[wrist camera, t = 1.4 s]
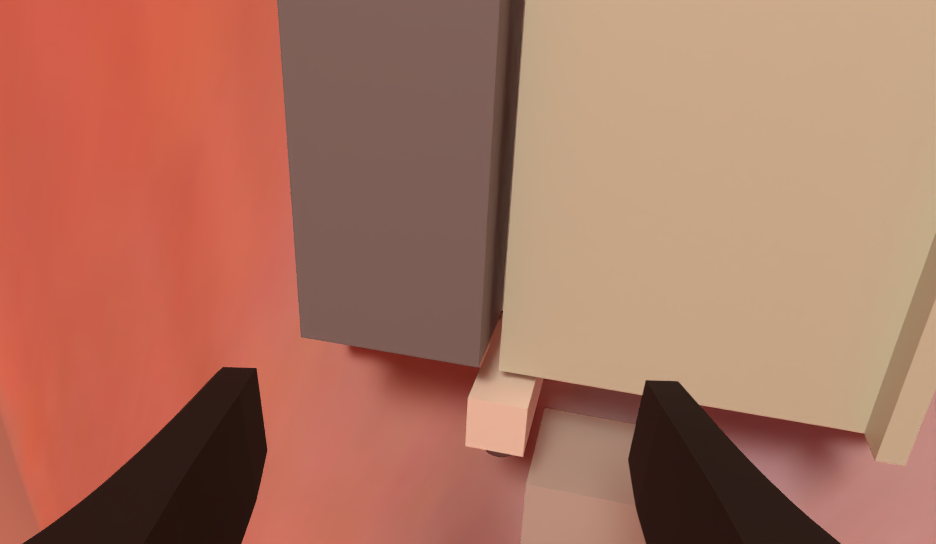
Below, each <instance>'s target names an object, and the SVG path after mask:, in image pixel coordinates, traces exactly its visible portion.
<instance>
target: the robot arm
mask: <svg viewBox="0 0 936 544" xmlns="http://www.w3.org/2000/svg"><path fill="white" fill-rule="evenodd" d="M266 453H267V444H266V437H265V429H264V422H263V414H262V407H261V399H260V392H259V384H258V377H257V369H256V368H232V367H223V368H222V369H220V370H219V371H218V372H217V373H216V374H215V375H214V376H213V377H212V378H211V379H210V380H209V381H208V382H207V383H206V384H205V386H204V387H203V388H202V389H201V390H200V391H199V392H198V393H197V394H196V395H195V396H194V397H193V398H192V399H191V400H190V401H189V402H188V403H187V404H186V405H185V407H184V408H183V409H182V410H181V411H180V412H179V413H178V414H177V415H176V416H175V417H174V418H173V419H172V420H171V421H170V422H169V423H168V424H167V425H166V426H165V427H164V428H163V429H162V430H161V431H160V432H159V433H158V434H157V435H156V436H155V437H154V438H152V439H151V440H150V441H149V442H148V443H147V444H146V445H145V446H144V447H143V448H142V449H141V450H140V451H139V452H138V453H137V454H136V455H135V456H133V457H132V458H131V459H130V460H129V461H128V462H127V463H126V464H124V465H123V466H122V467H121V468H120V469H119V470H118V471H117V472H115V473H114V474H113V475H112V476H111V477H110V478H109V479H108V480H107V481H105V482H104V483H103V484H102V485H101V486H99V487H98V488H97V489H96V490H95V491H93V492H92V493H91V494H90V495H89V496H87V497H86V498H85V499H84V500H82V501H81V502H80V503H79V504H77V505H76V506H75V507H73V508H72V509H71V510H70V511H68V512H67V513H66V514H64V515H63V516H62V517H60V518H59V519H58V520H56V521H55V522H54V523H52V524H51V525H49V526H48V527H47V528H45V529H44V530H42V531H41V532H39V533H38V534H36V535H35V536H33V537H32V538H30V539H29V540H27V541H26V542H24V543H23V544H241V543H242V540H243V537H244V535H245V532H246V529H247V526H248V523H249V520H250V517H251V514H252V512H253V509H254V506H255V503H256V499H257V495H258V491H259V486H260V482H261V477H262V473H263V468H264V463H265V458H266ZM628 463H629V470H630V476H631V483H632V489H633V495H634V500H635V506H636V511H637V514H638V518H639V522H640V525H641V528H642V532H643V535H644V539H645V542H646V544H841V543H839V542H838V541H837V540H836V539H835V538H833V537H832V536H831V535H830V534H828V533H827V532H826V531H825V530H824V529H822V528H821V527H820V526H819V525H818V524H816V523H815V522H814V521H813V520H812V519H810V518H809V517H808V516H807V515H806V514H805V513H804V512H802V511H801V510H800V509H799V508H798V507H797V506H796V505H795V504H793V503H792V502H791V501H790V500H789V499H788V498H787V497H786V496H785V495H784V494H783V493H782V492H781V491H780V490H779V489H778V488H777V487H776V486H775V485H773V484H772V483H771V482H770V481H769V480H768V479H767V478H766V477H765V476H764V475H763V474H762V473H761V472H760V471H759V470H758V469H757V468H756V467H755V466H754V465H753V464H752V463H751V462H750V461H749V459H748V458H747V457H746V456H745V455H744V454H743V453H742V452H741V451H740V450H739V449H738V448H737V447H736V446H735V445H734V444H733V442H732V441H731V440H730V439H729V438H728V437H727V436H726V435H725V434H724V433H723V431H722V430H721V429H720V428H719V427H718V426H717V425H716V424H715V422H714V421H713V420H712V419H711V418H710V417H709V416H708V414H707V413H706V412H705V411H704V410H703V409H702V408H701V406H700V405H699V404H698V403H697V402H696V401H695V400H694V399H693V397H692V396H691V395H690V394H689V393H688V392H687V391H686V389H685V388H684V387H683V386H682V385H681V384H680V383H679V382H678V381H656V380H646V381H645V386H644V390H643V395H642V399H641V403H640V408H639V412H638V417H637V421H636V426H635V430H634V435H633V439H632V444H631V448H630V452H629V457H628Z"/></svg>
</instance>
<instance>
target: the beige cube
mask: <svg viewBox="0 0 936 544" xmlns="http://www.w3.org/2000/svg"><path fill="white" fill-rule="evenodd" d="M635 426H636V424H632V423H627V422H621V421H616V420H610V419H605V418H599V417H594V416H588V415H582V414H577V413H571V412H566V411H560V410H555V409H549V408H545V409H544V413H543V417H542V421H541V425H540V429H539V433H538V437H537V441H536V446H535V450H534V454H533V458H532V462H531V466H530V470H529V474H528V478H527V482H526V490H525V500H524V509H523V519H522V529H521V539H520V544H646V542H645V539H644V535H643V532H642V528H641V525H640V522H639V518H638V514H637V511H636V506H635V500H634V495H633V489H632V483H631V476H630V470H629V463H628V457H629V452H630V448H631V444H632V439H633V435H634V430H635Z"/></svg>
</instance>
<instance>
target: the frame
mask: <svg viewBox="0 0 936 544" xmlns="http://www.w3.org/2000/svg"><path fill="white" fill-rule="evenodd" d="M525 2H526V0H524V1H523V15H522V29H521V43H520V57H519V71H518V85H517V99H516V113H515V127H514V141H513V155H512V169H511V183H510V197H509V211H508V225H507V239H506V253H505V267H504V281H503V295H502V309H501V311H503V305H504V291H505V277H506V264H507V250H508V236H509V222H510V209H511V195H512V181H513V167H514V153H515V140H516V126H517V112H518V98H519V85H520V71H521V57H522V43H523V29H524V16H525ZM502 319H503V314H502V316H501V319H499V320H498V322H497V325H496V327H495V329H494V332H493V334H492V337H491V339H490V341H489V344H488V346H487V349H486V351H485V353H484V356H483V358H482V361H481V363H480V365H479V367H480V370H479V372H478V375H477V377H476V379H475V382H474V384H473V387H472V389H471V392H470V394H469V396H468V405H467V424H466V444H465V446H469V447H474V448H479V449H484V450H486V451H487V452H488V453H489V454H491V455H493V456H497V457H506V456H510V455H515V456H520V457H523V455H524V451H525V448H526V444H527V440H528V436H529V432H530V429H531V425H532V421H533V417H534V414H535V410H536V406H537V402H538V398H539V395H540V391H541V387H542V383H543V379H545V378H540V377H534V376H528V375H522V374H516V373H511V372H505V371H499V360H500V346H501V333H502ZM550 380H551V379H550ZM555 381H557V380H555ZM561 382H563V381H561ZM567 383H569V382H567ZM573 384H575V383H573ZM579 385H580V384H579ZM584 386H586V385H584ZM590 387H592V386H590ZM596 388H598V387H596ZM602 389H604V388H602ZM608 390H610V389H608ZM614 391H615V390H614ZM619 392H621V391H619ZM625 393H627V392H625ZM631 394H633V393H631ZM637 395H639V394H637ZM701 406H703V405H701ZM707 407H709V406H707ZM713 408H714V407H713ZM718 409H720V408H718ZM724 410H726V409H724ZM730 411H732V410H730ZM736 412H738V411H736ZM742 413H744V412H742ZM748 414H749V413H748ZM753 415H755V414H753ZM759 416H761V415H759ZM765 417H767V416H765ZM771 418H773V417H771ZM777 419H778V418H777ZM782 420H784V419H782ZM788 421H790V420H788ZM794 422H796V421H794ZM800 423H802V422H800ZM806 424H808V423H806ZM812 425H813V424H812ZM817 426H819V425H817ZM823 427H825V426H823ZM829 428H831V427H829ZM835 429H837V428H835ZM841 430H843V429H841ZM847 431H848V430H847ZM852 432H854V431H852ZM858 433H860V432H858Z"/></svg>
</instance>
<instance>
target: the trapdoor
mask: <svg viewBox="0 0 936 544" xmlns="http://www.w3.org/2000/svg"><path fill="white" fill-rule="evenodd" d="M523 1H524V0H277V4H278V18H279V32H280V46H281V60H282V74H283V89H284V103H285V117H286V131H287V145H288V159H289V173H290V188H291V202H292V216H293V230H294V244H295V258H296V273H297V287H298V301H299V315H300V329H301V337H303V338H309V339H315V340H321V341H327V342H333V343H338V344H344V345H350V346H356V347H362V348H368V349H373V350H379V351H385V352H391V353H397V354H402V355H408V356H414V357H420V358H426V359H432V360H437V361H443V362H449V363H455V364H461V365H466V366H472V367H478V368H479V365H480V363H481V361H482V358H483V356H484V353H485V351H486V349H487V346H488V344H489V341H490V339H491V337H492V334H493V332H494V329H495V327H496V325H497V322H498V320H499V317H500V315H501V309H502V295H503V281H504V267H505V253H506V239H507V225H508V211H509V197H510V183H511V169H512V155H513V141H514V127H515V113H516V99H517V85H518V71H519V57H520V43H521V29H522V15H523ZM499 371H505V372H511V373H516V374H522V375H528V376H534V377H540V378H545V379H551V380H557V381H563V382H569V383H575V384H580V385H586V386H592V387H598V388H604V389H610V390H615V391H621V392H627V393H633V394H639V395H643V390H644V386H645V381H646V380H656V381H678V382H679V383H680V384H681V385H682V386H683V387H684V388H685V389H686V391H687V392H688V393H689V394H690V395H691V396H692V397H693V399H694V400H695V401H696V402H697V403H698V404H699V405H703V406H709V407H714V408H720V409H726V410H732V411H738V412H744V413H749V414H755V415H761V416H767V417H773V418H778V419H784V420H790V421H796V422H802V423H808V424H813V425H819V426H825V427H831V428H837V429H843V430H848V431H854V432H860V433H864V434H865V437H866V439H867V442H868V444H869V447H870V449H871V452H872V455H873V457H874V460H875V461H878V462H884V463H890V464H895V465H901V466H905V465H906V463H907V460H908V458H909V455H910V453H911V450H912V448H913V445H914V443H915V440H916V438H917V435H918V433H919V430H920V427H921V425H922V422H923V420H924V417H925V415H926V412H927V410H928V407H929V405H930V402H931V400H932V397H933V395H934V392H935V390H936V0H526V2H525V16H524V29H523V43H522V57H521V71H520V85H519V98H518V112H517V126H516V140H515V153H514V167H513V181H512V195H511V209H510V222H509V236H508V250H507V264H506V277H505V291H504V305H503V319H502V333H501V346H500V360H499Z"/></svg>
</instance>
